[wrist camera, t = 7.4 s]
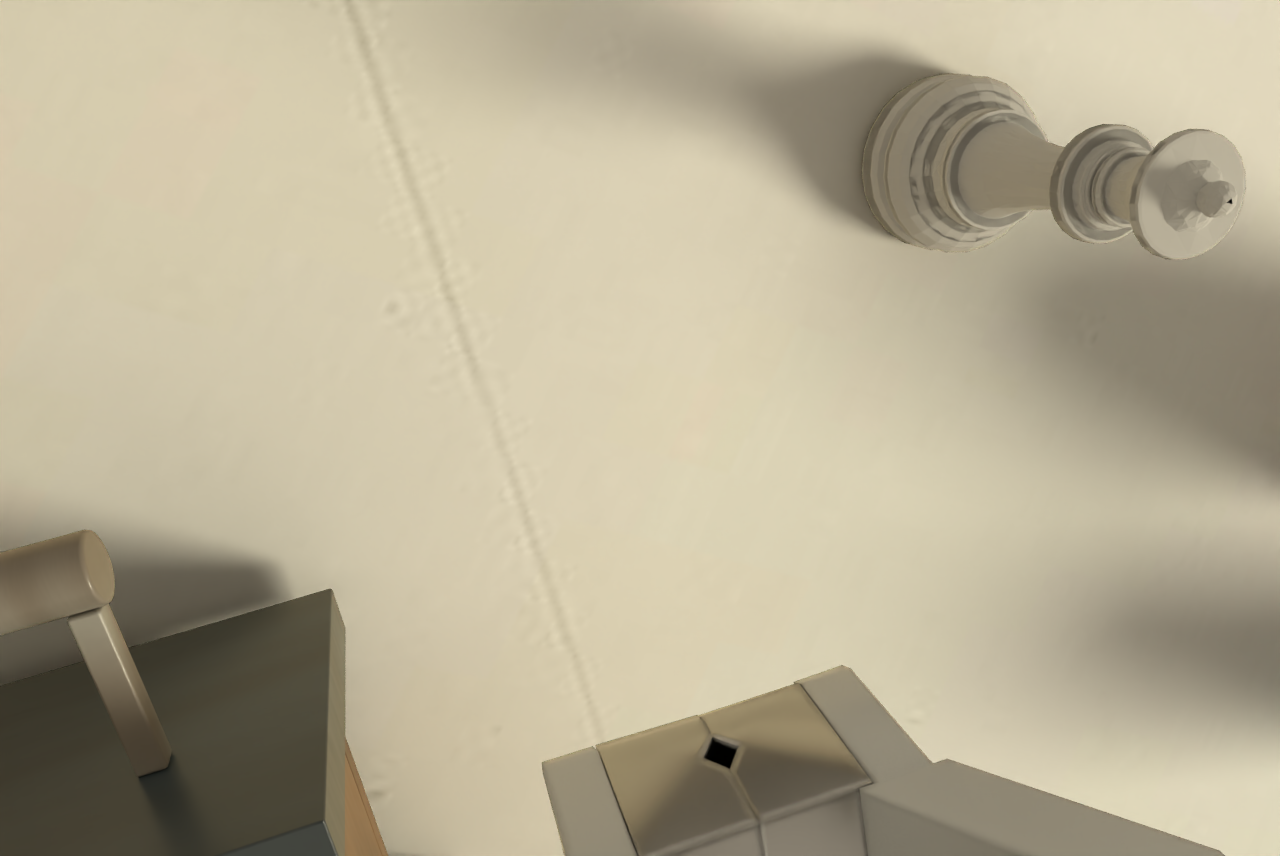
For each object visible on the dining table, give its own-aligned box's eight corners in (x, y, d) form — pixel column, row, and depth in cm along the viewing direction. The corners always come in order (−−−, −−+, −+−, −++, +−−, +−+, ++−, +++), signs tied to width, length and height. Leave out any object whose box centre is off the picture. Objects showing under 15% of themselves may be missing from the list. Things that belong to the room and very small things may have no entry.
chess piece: (1025, 208, 29) (1346, 267, 19) (884, 272, 28) (1144, 363, 19) (990, 47, 27) (1322, 28, 18) (838, 112, 26) (1100, 127, 17)
